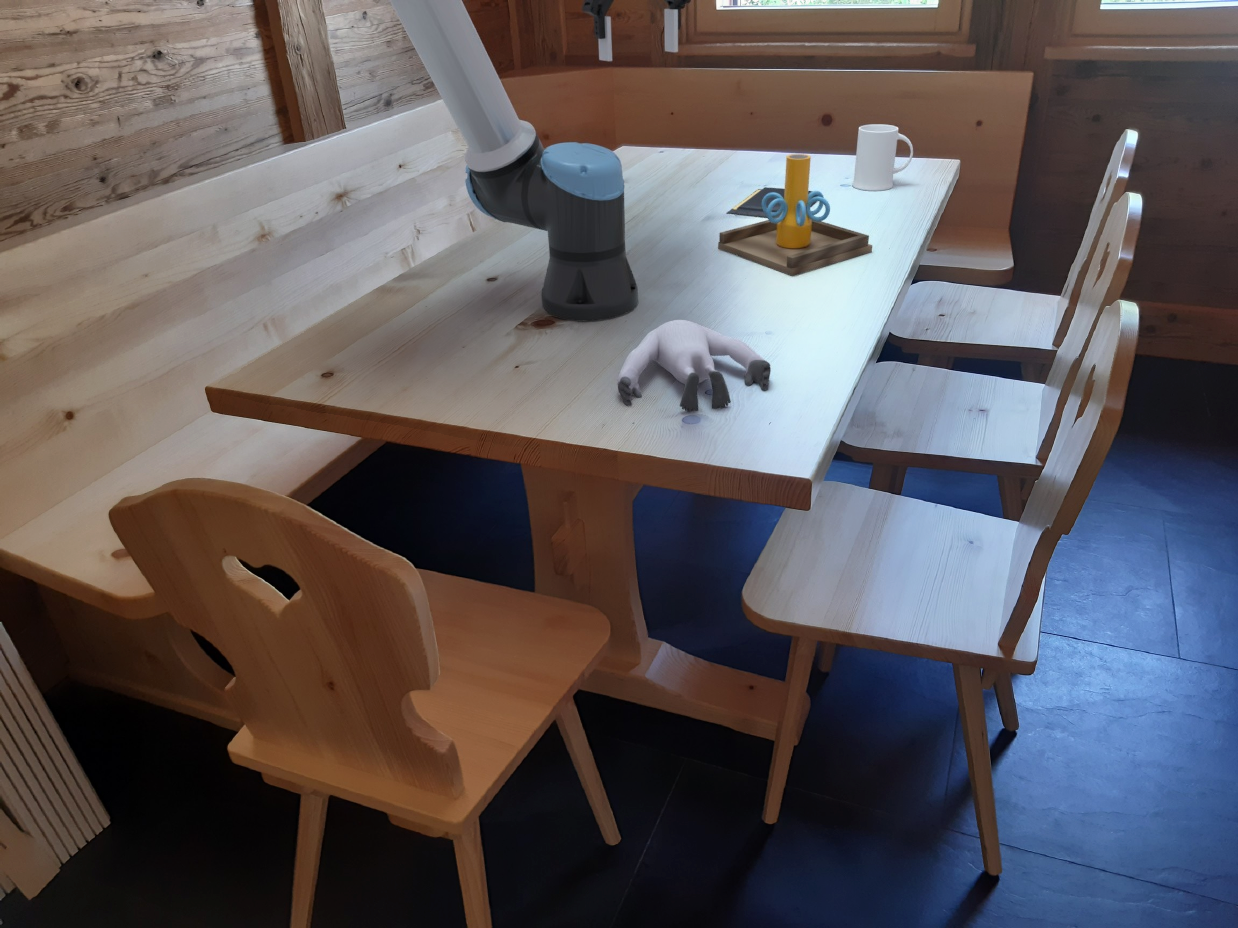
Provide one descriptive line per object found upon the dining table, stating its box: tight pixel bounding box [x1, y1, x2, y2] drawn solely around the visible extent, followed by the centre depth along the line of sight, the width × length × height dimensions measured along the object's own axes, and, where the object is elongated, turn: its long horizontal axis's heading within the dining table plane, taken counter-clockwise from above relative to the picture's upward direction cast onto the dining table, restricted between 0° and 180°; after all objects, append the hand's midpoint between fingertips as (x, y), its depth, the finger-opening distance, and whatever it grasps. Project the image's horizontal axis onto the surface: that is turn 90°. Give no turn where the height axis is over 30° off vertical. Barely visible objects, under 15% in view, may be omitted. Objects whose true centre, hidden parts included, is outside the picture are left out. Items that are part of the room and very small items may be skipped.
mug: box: [851, 123, 914, 192], centre depth 193 cm, size 12×8×12 cm
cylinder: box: [762, 153, 831, 249], centre depth 157 cm, size 12×10×15 cm
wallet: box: [725, 187, 819, 219], centre depth 187 cm, size 20×2×15 cm
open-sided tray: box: [717, 217, 873, 277], centre depth 161 cm, size 19×19×3 cm
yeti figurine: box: [617, 319, 772, 413], centre depth 118 cm, size 20×7×20 cm
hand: (639, 56), depth 153 cm, fingers open, 13 cm apart
